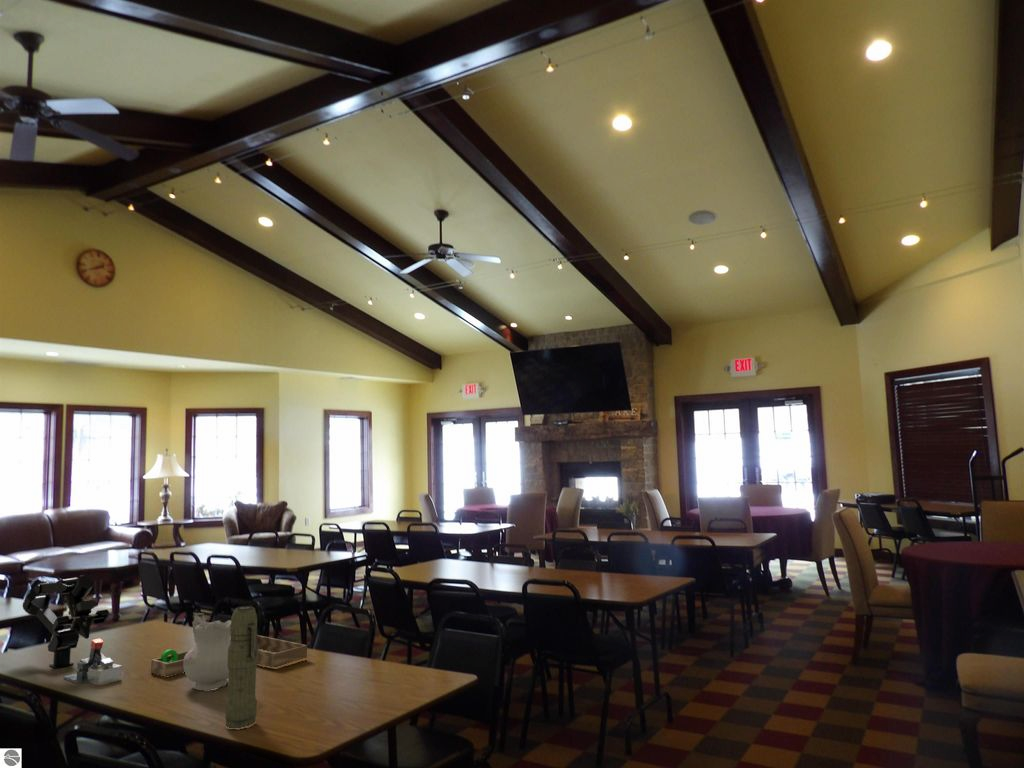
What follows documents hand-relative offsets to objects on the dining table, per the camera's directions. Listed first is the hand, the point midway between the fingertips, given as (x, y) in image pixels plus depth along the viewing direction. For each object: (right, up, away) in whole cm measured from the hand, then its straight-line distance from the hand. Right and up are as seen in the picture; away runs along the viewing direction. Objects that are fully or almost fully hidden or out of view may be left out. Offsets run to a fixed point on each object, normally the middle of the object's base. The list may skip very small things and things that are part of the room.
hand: (87, 638), depth 274 cm
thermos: (+80, -7, -56) cm, 99 cm away
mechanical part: (+34, -14, +3) cm, 37 cm away
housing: (+13, -12, -11) cm, 21 cm away
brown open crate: (+62, -15, +17) cm, 66 cm away
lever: (+7, -12, -7) cm, 15 cm away
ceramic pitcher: (+54, -11, -17) cm, 58 cm away
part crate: (+34, -13, +2) cm, 37 cm away
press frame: (+5, -12, -6) cm, 15 cm away
